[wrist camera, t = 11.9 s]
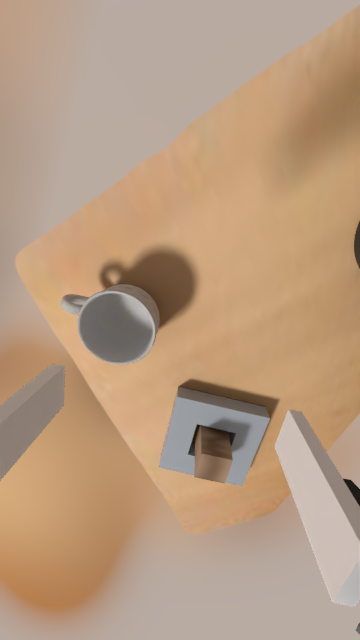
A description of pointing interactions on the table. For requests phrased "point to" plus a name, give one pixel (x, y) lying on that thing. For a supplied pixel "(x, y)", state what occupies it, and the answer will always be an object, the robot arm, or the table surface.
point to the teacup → (116, 322)
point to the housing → (215, 413)
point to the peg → (212, 454)
